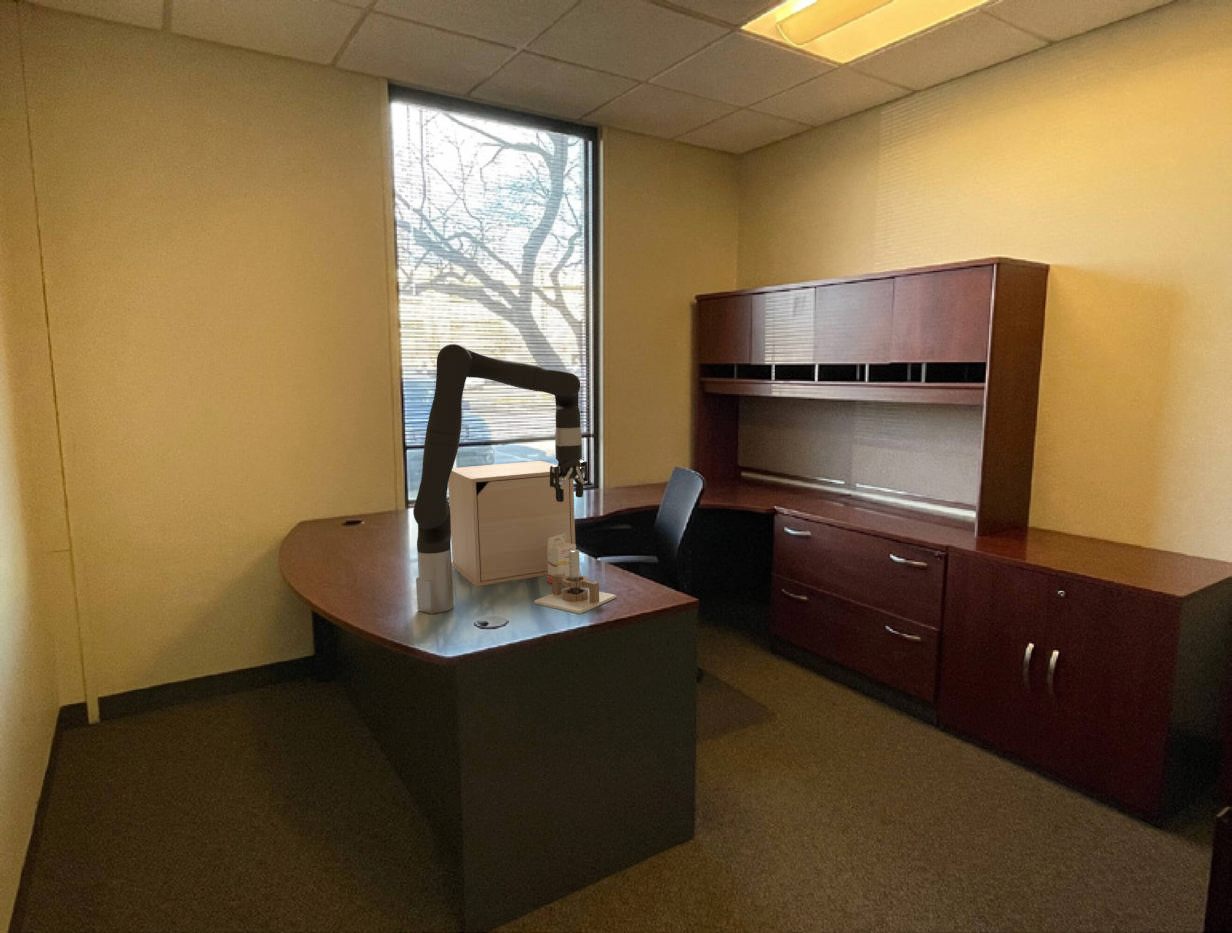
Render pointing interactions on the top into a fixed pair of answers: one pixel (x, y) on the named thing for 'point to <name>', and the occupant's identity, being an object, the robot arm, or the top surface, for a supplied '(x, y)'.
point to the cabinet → (506, 520)
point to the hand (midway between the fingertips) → (569, 499)
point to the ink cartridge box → (558, 556)
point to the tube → (574, 569)
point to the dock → (573, 605)
